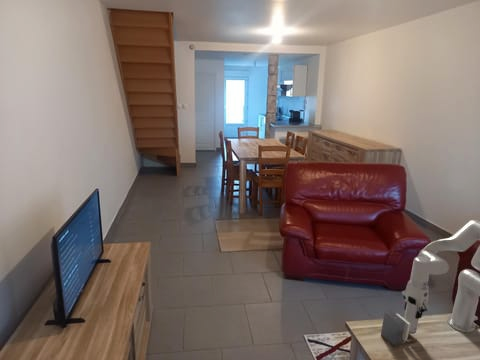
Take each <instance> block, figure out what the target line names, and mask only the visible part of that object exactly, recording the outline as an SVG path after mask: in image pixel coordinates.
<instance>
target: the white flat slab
mask: <svg viewBox="0 0 480 360" xmlns="http://www.w3.org/2000/svg"><path fill="white" fill-rule="evenodd" d="M395 314H396V315H397V316H399V317H400V318H401V319H402V320H403V321H405V326H404V331H403V336H402V339H403V340H404V341H406V342H407V343H408V341H407V338H408V333H409V328H410V323H409V322H408V321H406V320H405V319H404V317H403V316H402V315H400V314H399V313H395ZM409 334H410V333H409Z"/></svg>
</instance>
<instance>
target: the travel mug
mask: <svg viewBox="0 0 480 360" xmlns="http://www.w3.org/2000/svg"><path fill="white" fill-rule="evenodd" d="M420 310H421V308H420ZM417 311H418V309H417V306H416V300H414V299H413V298H411V297H409V296H408V300H407V306H406V310H404V317H403V318H404V319H405V320H406V321H408V322H409V323H410V328H409V334H411V335H413V334H416V333H417V330H418V325H419V319H420V318H419V319H416V318H415V317H416V312H417Z"/></svg>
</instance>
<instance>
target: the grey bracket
mask: <svg viewBox="0 0 480 360" xmlns="http://www.w3.org/2000/svg"><path fill="white" fill-rule="evenodd" d="M396 314H397V313H395V312H394V311H392V310H388V311H387V310H386V311H384V315H383V320H382V324H381V325H382V327H381V332H380V337H381V338H382V339H383V340H385V341H386V342H387V344H389V346H391V347H392V348H393V349H396V348H400V347H403V346H406V345H410V344H412V343H416V342H417V338H416V337H414V336H413V334H410V333H408V338H407V341H408V343H407V342H406V341H404V340H403V339H402V336H403V331H404V326H405V321H403V320H402V319H401V318H400V317H399V316H397V315H396Z"/></svg>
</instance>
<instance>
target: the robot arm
mask: <svg viewBox="0 0 480 360" xmlns="http://www.w3.org/2000/svg"><path fill="white" fill-rule="evenodd" d="M478 241H480V220H477V219H470V220H469V221H467V222H466V223H465V224H464V225H463V226H461V227H460V228H459V229H458V230H457V231H456V232H454V233H453V234H452V235H451V236H449V237H447V238H441V239H438V240H434V241H432V242H430V243H428V244H427V245H426V246H425V247H423V248H422V249H421V250H420V251H419V253H418V255H417V256H416V257H414V259H413V262H412V268H411V273H410V278H409V280H408V281H407V284H406V287H405V290H402V291H401V294H402V297H403V298H404V299H403V300H404V308H403V310H404V311H406V306H407V300H408V296H409V297H411V298H413V299H414V300H416V306H417V309H418V311H417V312H416V317H415V318H416V319H421V318H422V317H423V313H424V312H429V311H430V307H429V305H428V302H429V291H430V290H429V288H430V285H429V278H430V275H436V276H437V275H444V274H446V273H448V271H449V269H450V265H449V263H448V262H447V261H446V260H445V259H443V258H442V257H440V256H438V255H437V253H439V252H443V251H452V252H467V250H468V249H469V248H470V247H472V245H474V244H475V243H476V242H478ZM470 261H471V263H470V264H471V266H472V267H473V268H474V269H475V270H477V271H479V272H480V245H478V247H477V249H476V251H475V253H474V255H473V257H472V259H471V260H470ZM475 270H473V269H469V268H464V269H463V270H461V271H460V273H459V275H458V279H457V280H458V282H457V283H458V286H457V291H456V292H457V293H456V296H455V300H454V303H453V304H454V305H453V308H452V313H451V315H449V316H447V319H446V322H447V324H448V325H449V326H450V327H452V328H453V329H454V330H457V331H459V332H463V333H473V332H474V331H475V329H476V325H474V323H473V322H474V321H477V320H479V318H478V316H477V315H476V312H477V307H478V303H479V300H480V299H479V298H480V273H479V272H477V271H475ZM420 308H421V310H420Z"/></svg>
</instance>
